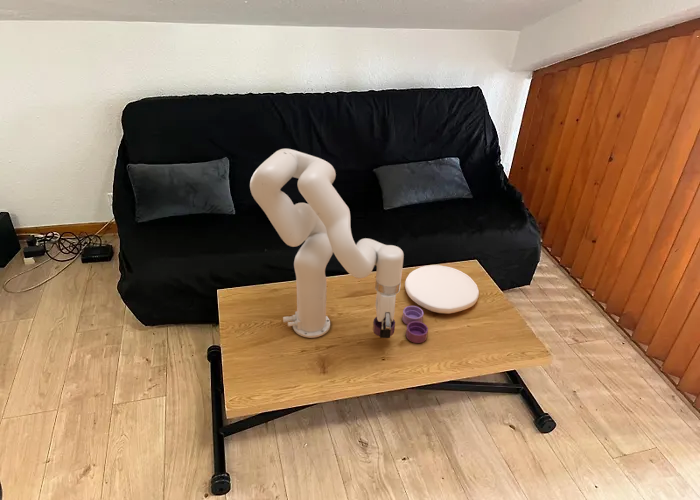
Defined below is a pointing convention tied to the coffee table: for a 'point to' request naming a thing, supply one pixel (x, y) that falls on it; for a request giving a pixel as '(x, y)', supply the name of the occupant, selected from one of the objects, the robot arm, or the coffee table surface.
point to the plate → (441, 289)
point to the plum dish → (416, 332)
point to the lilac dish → (412, 314)
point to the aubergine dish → (379, 324)
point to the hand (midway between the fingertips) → (383, 328)
